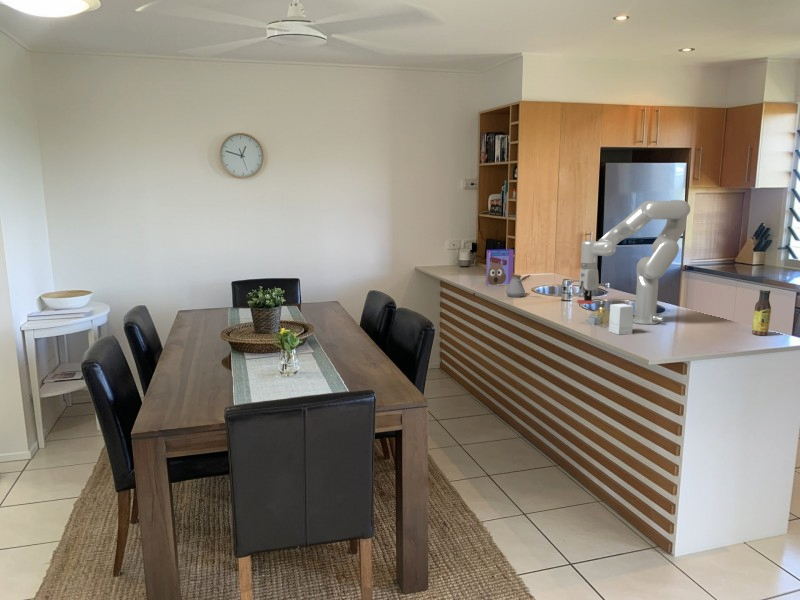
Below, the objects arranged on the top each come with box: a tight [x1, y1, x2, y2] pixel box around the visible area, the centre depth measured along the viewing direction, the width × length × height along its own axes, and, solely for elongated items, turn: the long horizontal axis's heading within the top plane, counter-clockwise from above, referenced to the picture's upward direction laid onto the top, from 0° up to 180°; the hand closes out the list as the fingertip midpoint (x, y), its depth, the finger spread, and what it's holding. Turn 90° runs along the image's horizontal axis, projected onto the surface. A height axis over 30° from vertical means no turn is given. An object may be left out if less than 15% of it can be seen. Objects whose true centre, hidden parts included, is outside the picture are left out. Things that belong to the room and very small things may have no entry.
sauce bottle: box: [751, 289, 772, 336], centre depth 263 cm, size 7×6×20 cm
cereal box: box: [485, 248, 515, 286], centre depth 406 cm, size 17×5×24 cm, turn 104°
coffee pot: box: [505, 274, 533, 298], centre depth 357 cm, size 21×12×15 cm, turn 21°
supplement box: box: [608, 303, 635, 336], centre depth 268 cm, size 7×7×13 cm
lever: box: [577, 299, 607, 307], centre depth 289 cm, size 13×3×3 cm, turn 79°
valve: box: [578, 306, 610, 329], centre depth 289 cm, size 12×19×8 cm, turn 130°
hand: (587, 303), depth 292 cm, fingers closed
